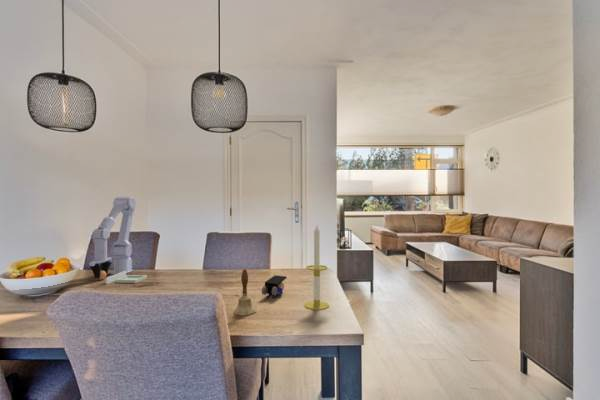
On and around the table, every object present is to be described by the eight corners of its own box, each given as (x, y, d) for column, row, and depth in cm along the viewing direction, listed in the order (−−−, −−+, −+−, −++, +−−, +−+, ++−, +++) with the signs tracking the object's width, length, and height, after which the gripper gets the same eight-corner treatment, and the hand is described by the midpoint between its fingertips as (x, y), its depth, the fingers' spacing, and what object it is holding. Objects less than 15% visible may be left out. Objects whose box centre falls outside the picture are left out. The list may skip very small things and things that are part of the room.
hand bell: (229, 311, 123) (229, 269, 123) (247, 306, 129) (247, 266, 129) (242, 317, 117) (241, 273, 117) (260, 311, 123) (260, 269, 123)
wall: (124, 276, 180) (124, 270, 180) (126, 276, 179) (126, 271, 179) (105, 283, 164) (105, 277, 164) (107, 283, 163) (107, 277, 163)
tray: (128, 277, 177) (128, 275, 177) (146, 278, 176) (146, 275, 176) (115, 282, 166) (115, 279, 166) (135, 283, 165) (135, 280, 165)
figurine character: (276, 304, 136) (287, 290, 151) (275, 286, 136) (287, 274, 150) (261, 302, 138) (274, 289, 153) (260, 285, 138) (273, 273, 152)
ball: (99, 278, 175) (99, 269, 175) (108, 278, 174) (108, 269, 174) (93, 280, 170) (93, 271, 170) (102, 281, 169) (102, 271, 169)
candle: (308, 311, 124) (308, 225, 124) (301, 303, 133) (301, 223, 133) (333, 308, 126) (333, 225, 126) (324, 300, 136) (324, 223, 136)
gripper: (102, 249, 180) (103, 273, 180) (83, 253, 165) (83, 280, 165) (115, 249, 179) (115, 274, 179) (96, 253, 165) (96, 280, 165)
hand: (100, 277), depth 172 cm, fingers closed on ball, 5 cm apart
